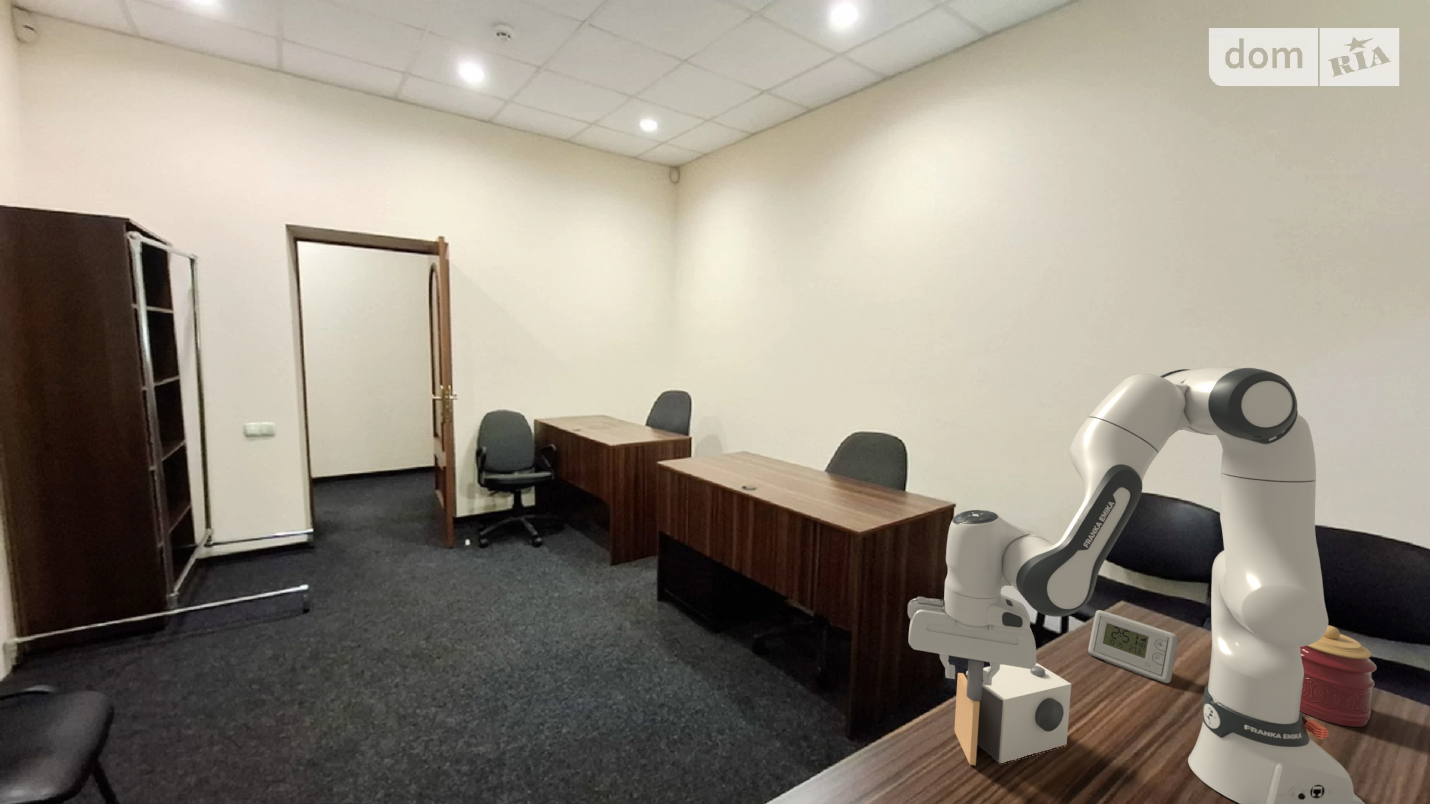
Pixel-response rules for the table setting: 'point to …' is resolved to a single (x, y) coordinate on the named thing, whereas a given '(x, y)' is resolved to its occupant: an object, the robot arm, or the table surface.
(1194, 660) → the table surface
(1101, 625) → the digital clock
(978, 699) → the wooden flat board
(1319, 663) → the canister
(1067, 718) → the camera case
